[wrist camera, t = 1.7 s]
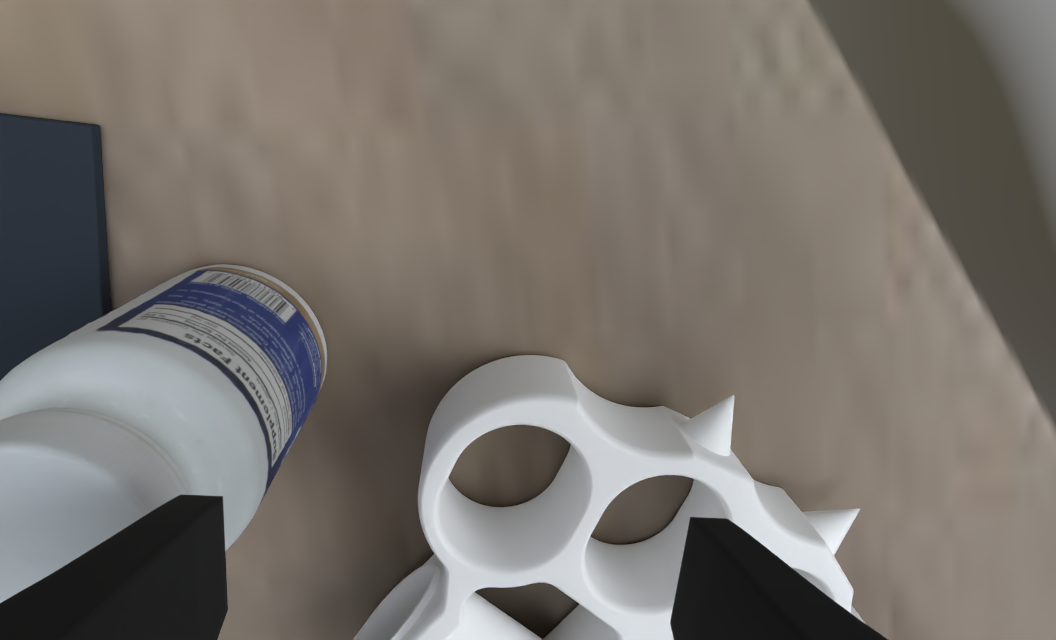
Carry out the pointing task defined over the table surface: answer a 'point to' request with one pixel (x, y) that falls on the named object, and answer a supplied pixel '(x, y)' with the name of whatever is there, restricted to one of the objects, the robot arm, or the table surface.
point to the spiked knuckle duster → (584, 514)
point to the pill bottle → (153, 414)
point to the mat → (49, 234)
